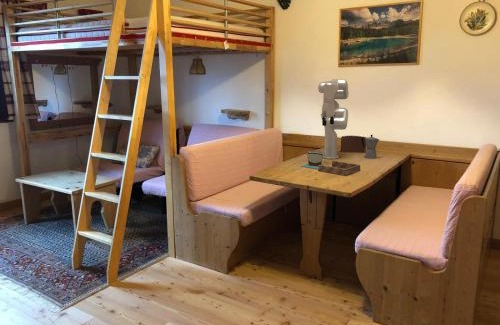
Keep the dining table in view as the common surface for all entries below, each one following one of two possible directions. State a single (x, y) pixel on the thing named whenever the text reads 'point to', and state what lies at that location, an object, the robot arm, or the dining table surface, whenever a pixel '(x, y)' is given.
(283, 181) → the dining table surface
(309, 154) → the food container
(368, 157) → the coffeepot
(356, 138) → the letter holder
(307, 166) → the mat
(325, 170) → the frame
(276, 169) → the dining table surface
